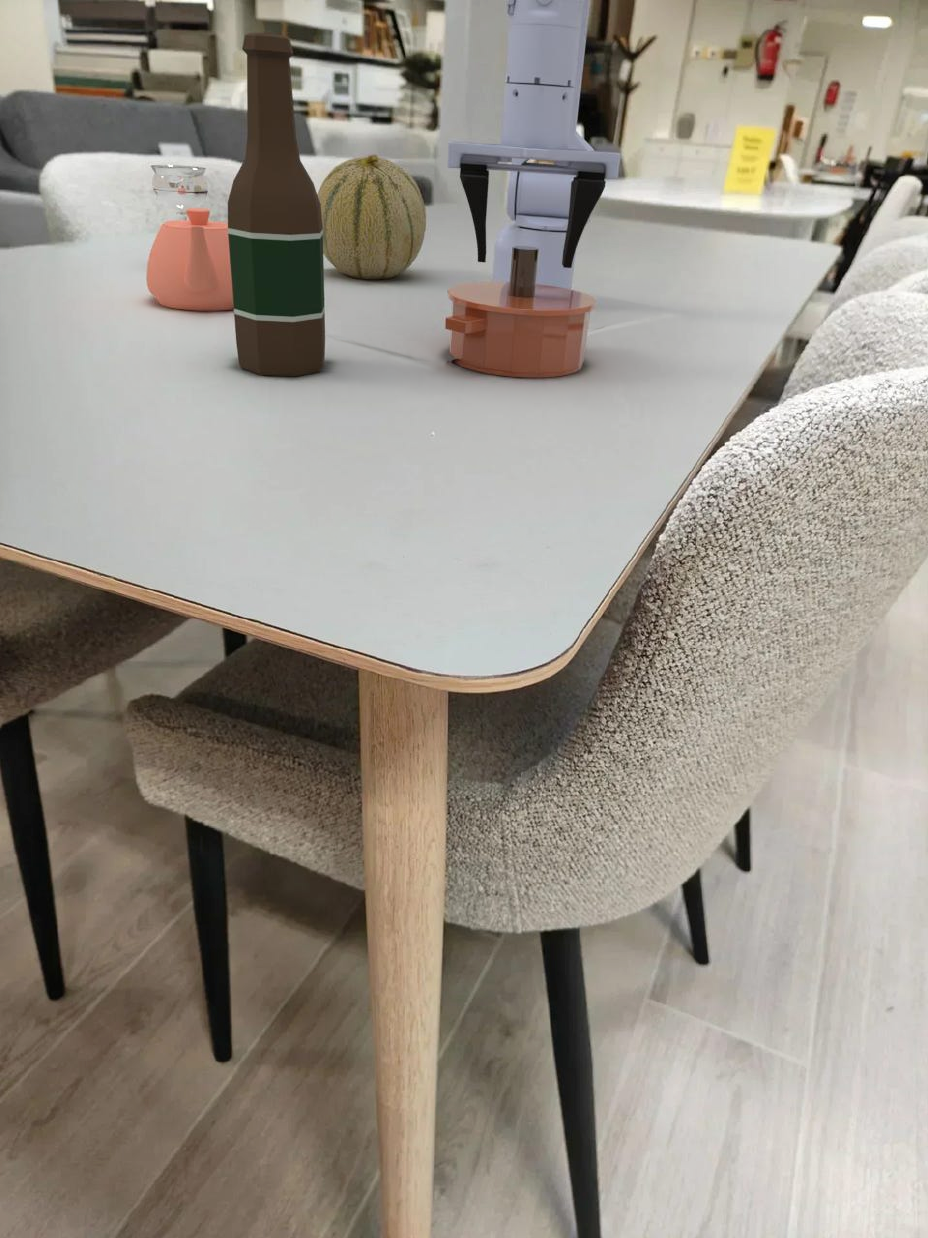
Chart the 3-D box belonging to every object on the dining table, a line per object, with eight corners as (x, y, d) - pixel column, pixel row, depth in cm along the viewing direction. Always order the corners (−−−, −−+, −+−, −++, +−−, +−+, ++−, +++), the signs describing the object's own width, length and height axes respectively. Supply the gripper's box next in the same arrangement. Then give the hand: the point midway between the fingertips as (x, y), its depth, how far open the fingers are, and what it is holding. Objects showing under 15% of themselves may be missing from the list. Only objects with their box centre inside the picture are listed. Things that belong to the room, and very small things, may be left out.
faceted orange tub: (401, 360, 79) (403, 298, 76) (521, 335, 91) (526, 281, 88) (508, 391, 72) (514, 324, 69) (622, 359, 84) (631, 302, 82)
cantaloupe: (394, 269, 124) (396, 150, 116) (444, 287, 113) (450, 158, 105) (297, 271, 117) (292, 146, 109) (340, 292, 106) (338, 154, 99)
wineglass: (151, 270, 111) (139, 166, 105) (175, 263, 117) (165, 163, 111) (201, 274, 111) (192, 170, 105) (222, 267, 117) (215, 167, 110)
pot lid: (416, 302, 78) (418, 241, 76) (508, 288, 87) (513, 234, 85) (535, 330, 71) (541, 264, 68) (622, 312, 80) (631, 253, 77)
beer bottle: (343, 362, 77) (339, 41, 65) (301, 382, 71) (288, 30, 59) (266, 350, 79) (248, 37, 67) (219, 369, 73) (190, 26, 61)
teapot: (259, 289, 105) (254, 202, 100) (263, 321, 90) (257, 221, 85) (155, 286, 102) (144, 198, 97) (140, 319, 87) (127, 216, 82)
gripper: (449, 78, 67) (442, 264, 74) (635, 91, 67) (609, 275, 74) (452, 81, 73) (445, 253, 80) (622, 92, 73) (600, 263, 80)
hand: (524, 263), depth 77 cm, fingers open, 7 cm apart
